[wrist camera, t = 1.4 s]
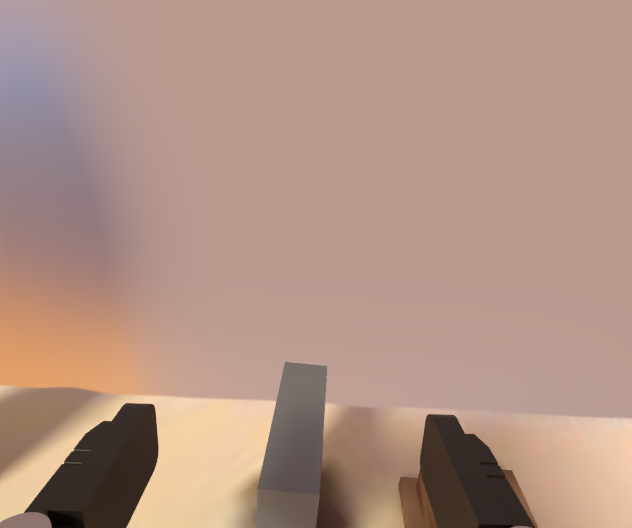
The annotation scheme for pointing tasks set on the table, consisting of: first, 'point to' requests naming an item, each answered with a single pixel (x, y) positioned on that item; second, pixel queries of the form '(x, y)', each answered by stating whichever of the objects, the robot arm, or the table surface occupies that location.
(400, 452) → the table surface
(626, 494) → the table surface
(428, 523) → the rack
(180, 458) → the table surface
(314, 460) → the grey upright flat block
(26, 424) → the table surface
